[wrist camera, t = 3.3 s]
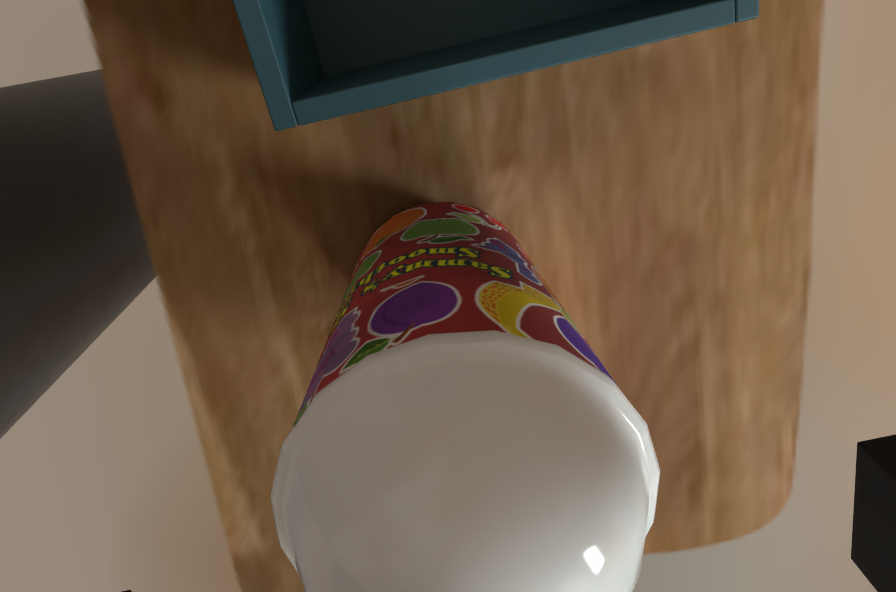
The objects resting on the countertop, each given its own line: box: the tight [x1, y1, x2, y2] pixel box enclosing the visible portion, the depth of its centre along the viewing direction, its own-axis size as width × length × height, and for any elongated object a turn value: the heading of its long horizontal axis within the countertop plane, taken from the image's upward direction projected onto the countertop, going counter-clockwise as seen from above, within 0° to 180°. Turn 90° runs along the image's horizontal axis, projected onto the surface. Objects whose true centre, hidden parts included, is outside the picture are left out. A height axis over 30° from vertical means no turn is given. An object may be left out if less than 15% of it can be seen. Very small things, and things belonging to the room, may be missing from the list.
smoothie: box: [271, 202, 660, 592], centre depth 17 cm, size 8×8×20 cm
